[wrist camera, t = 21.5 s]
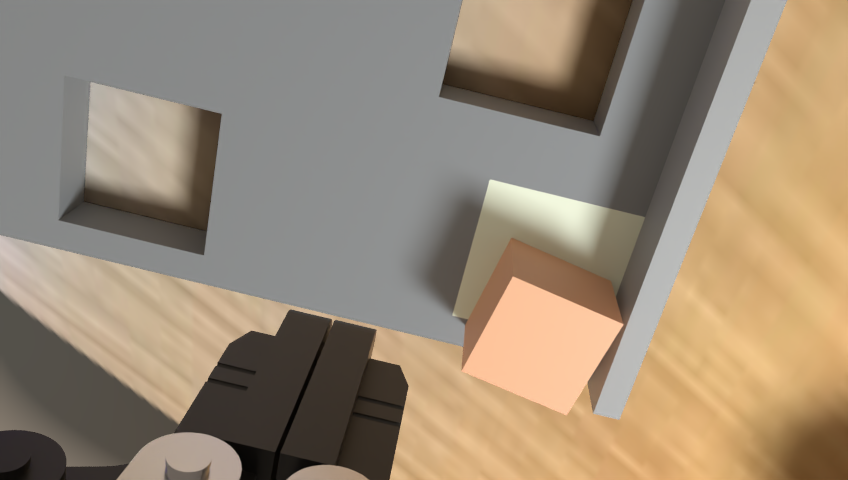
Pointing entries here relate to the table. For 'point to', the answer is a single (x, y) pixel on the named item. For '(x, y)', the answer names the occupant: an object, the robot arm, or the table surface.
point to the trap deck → (382, 153)
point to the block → (540, 327)
